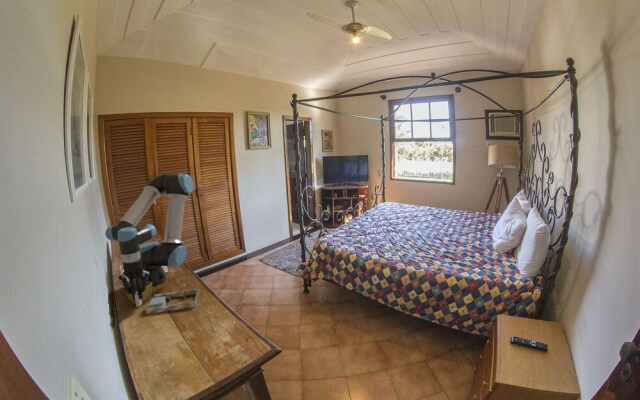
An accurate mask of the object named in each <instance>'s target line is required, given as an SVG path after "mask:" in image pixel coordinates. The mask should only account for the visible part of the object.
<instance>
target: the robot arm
mask: <svg viewBox="0 0 640 400" xmlns="http://www.w3.org/2000/svg"><path fill="white" fill-rule="evenodd" d="M194 186H195V185H194V182H193V178H192V177H191V176H190V175H189V174H186V173H163V174H159V175H157V176H155V177H154V178H152V179H150V181H148V182H147V183H146V184H145V185H144V187H143V191H142V192H141V194H140V195H139V196H138V197H137V198H136V199H135V201H134V202H133V204H132V205H131V206H130V207H129V209H128V210H127V211H126V212H125V214H124V215H123V216H122V218H121V219H119V221H118V222H117V223H116V225H109V226H108V227H107V228H106V230H105V238H106V239H107V240H109V241H115V242H118V245H119V246H118V247H119V251H120V257H121V261H122V269H123V272H122V273H120V275H119V276H117V277H118V279H119V280H120V281H121V283H122V285H123V287H124V289H125V290H126V291H127V293H128V294H132V296H133V300H135V301H136V304H135V306H136V308H140V307H141V306H142V305H143V304H142V301H141V299H142V298H143V294H142V292H144V291H145V290H146V286H147V282H152V287H156V286H158V285H160V284H163V283H164V282H165V281H166V280H167V277H168V276H167V273H166V271H165V270H164V268H163V267H170V268H171V267H173V268H174V267H178V266H181V265H182V264H183V263H184V261H185V260H186V257H187V253H188V252H187V251H188V250H187V247H186V246H185V245H184V242H183V241H182V232H183V231H182V230H183V222H184V213H185V203H186V200H187V199H188V198H189V195H190V194H192V193H193V191H194ZM164 194H166V196H167V198H168V206H167V213H166V220H165V222H166V223H165V229H164V230H165V231H164V238H163V240H161V241H160V244H159V242H158V241H150V242H147V241H149V240H151V239H153V238H154V237H155V236H156V235H157V228H156V226H154V225H153V224H151V223H147V224H144V225H138V223H139V222H140V221H141V220H142V218H143V217H144V216H145V214H146V212H147V211H148V210H149V209H150V207H151V206H152V205H153V204H154V202H155V201H156V200H157V199H159V198H160V197H161V196H162V195H164ZM144 242H145V243H144ZM141 282H143V284H142V285H141ZM135 283H136V285H135ZM136 286H137V290H136ZM126 291H125V292H126ZM136 291H137V292H136Z"/></svg>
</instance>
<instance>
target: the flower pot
mask: <svg viewBox="0 0 640 400" xmlns="http://www.w3.org/2000/svg"><path fill="white" fill-rule="evenodd" d="M142 284H143V282H141V285H142ZM135 285H136V282H135ZM136 290H137V286H136ZM124 291H125V293H126V296H127V298H128V300H129V302H131V303H132V304H133V305H136V301H135V300H133V296H132V294H128V293H127V291H126V289H125V290H124ZM136 292H137V291H136ZM152 293H153V286H152V282H147V286H146V290H145V291H144V292H142V294H143V298H142V299H141V301H142V304H141V305H143V304H145V303H146V302H147V301H149V300H150V298H151V296H152Z"/></svg>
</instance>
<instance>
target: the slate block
mask: <svg viewBox="0 0 640 400" xmlns="http://www.w3.org/2000/svg"><path fill="white" fill-rule="evenodd" d="M166 299H167V298H165V296H164V297H158V298H154V297H153V298H151V299H150V301H149V304H148V308H154V307H162V306H167V301H166Z"/></svg>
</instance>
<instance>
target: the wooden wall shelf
mask: <svg viewBox="0 0 640 400" xmlns="http://www.w3.org/2000/svg"><path fill="white" fill-rule="evenodd" d="M200 291H201V290H200V289H199V288H194V289H185V290H182V291H175V292H168V293H166V292H165V293H158V294H154V295H153V298H158V297H164V296H165V299H168V301H169V302H171V301H172V299H173V298H178V297H179V298H180V297H183V300H186V297H188V296H194V294H196V295H195V297H194V300H193V301H187V302H179V303H176V304H169V305H165V306H162V307H154V308H149V307H148V308H147V307H146V308H145V314H146V315H149V314H157V313H162V312H169V311H176V310H178V311H179V310H184V309H191V308H196V306H197V303H198V299H199V297H200V294H201V292H200Z"/></svg>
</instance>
